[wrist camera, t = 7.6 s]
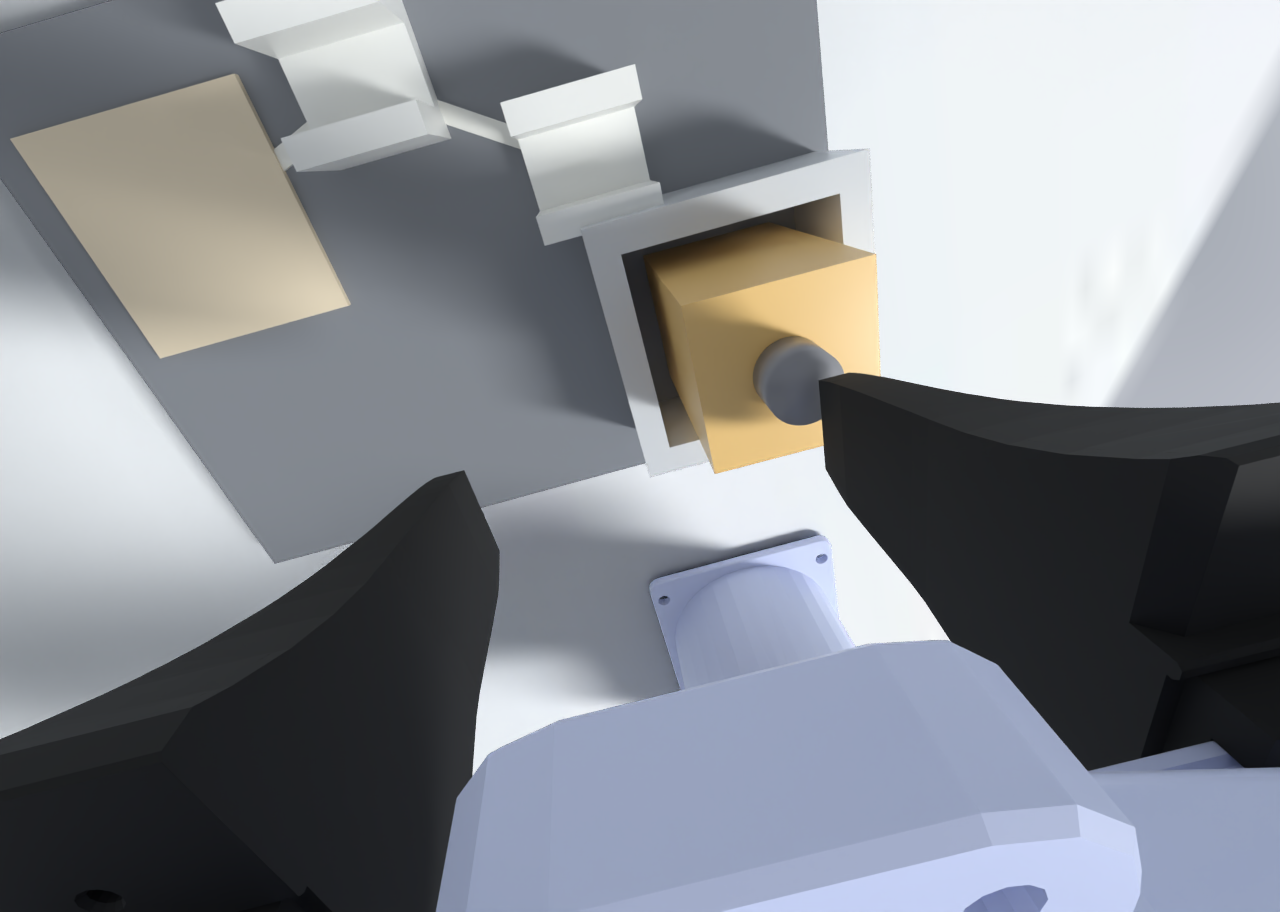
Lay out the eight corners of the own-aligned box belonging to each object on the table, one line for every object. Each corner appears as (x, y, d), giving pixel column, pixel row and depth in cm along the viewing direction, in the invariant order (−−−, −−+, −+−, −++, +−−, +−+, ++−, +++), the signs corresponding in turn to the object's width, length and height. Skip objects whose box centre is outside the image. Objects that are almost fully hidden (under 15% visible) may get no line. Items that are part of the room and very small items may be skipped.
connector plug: (783, 344, 19) (904, 449, 12) (669, 374, 19) (725, 496, 12) (768, 221, 17) (902, 261, 10) (642, 255, 18) (689, 318, 10)
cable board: (837, 397, 22) (896, 451, 18) (286, 547, 22) (223, 632, 18) (786, -181, 14) (870, -315, 10) (-46, 64, 15) (-277, 27, 11)
